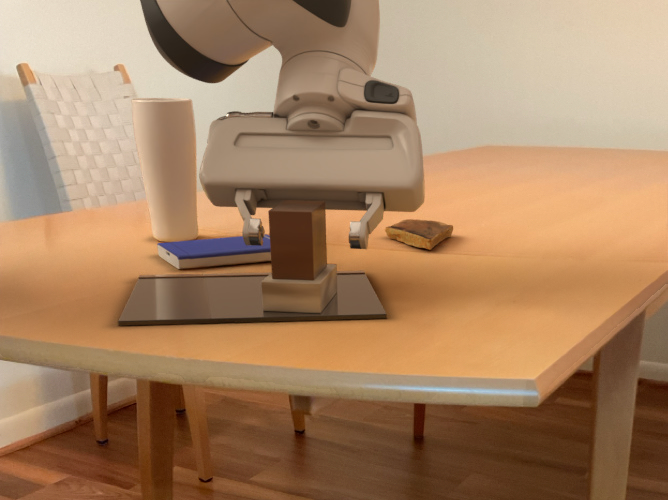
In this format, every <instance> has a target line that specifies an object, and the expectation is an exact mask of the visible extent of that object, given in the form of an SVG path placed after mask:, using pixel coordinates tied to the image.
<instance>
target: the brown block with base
mask: <svg viewBox="0 0 668 500" xmlns="http://www.w3.org/2000/svg"><path fill="white" fill-rule="evenodd" d="M326 212H327V210H325V202H324V201H291V200H285V201H283V202H282V203H280V204H279V205H277V206H275V207H274V208H270V209H269V210H268V228H269V229H268V230H269V236H270V249H271V261H270V263H271V264H270V265H271V272H272V273H271V274H269V275H268V276H267V277H266V278H265V279H264V280H263V281H261V287H262V304H263V311H271V312H296V313H321V312H322V311H323V310H324V308H325V307H326V306H327V304H328V303H329V302H330V301H331V299H332V298H333V297H334V295H335V294H336V293H337V271H338V265H337V264H335V263H328V252H327V251H328V249H327V216H326V215H327V214H326Z"/></svg>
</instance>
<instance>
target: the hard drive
mask: <svg viewBox="0 0 668 500" xmlns="http://www.w3.org/2000/svg"><path fill="white" fill-rule="evenodd" d="M156 247H157V255H158V257H159V258H161V259H162V260H164V261H165V262H167V263H168V264H169V265H171V266H173V267H174V268H175V269H177V270H184V269H200V268H210V267H220V266H232V265H241V264H253V263H264V262H271V249H270V234H267V233H264V238H263V245H262V246H256V245H246V244H245V242H244V240H243V235H240V236H239V235H237V236H227V237H215V238H203V239H201V238H200V239H194V240H189V241H177V242H158V243H157V245H156Z"/></svg>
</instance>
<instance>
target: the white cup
mask: <svg viewBox="0 0 668 500" xmlns="http://www.w3.org/2000/svg"><path fill="white" fill-rule="evenodd" d="M130 103H131V117H132V127H133V135H134V141H135V146H136V152H137V158H138V161H139V166H140V173H141V176H142V182H143V187H144V193H145V197H146V202H147V208H148V214H149V219H150V227H151V228H150V229H151V235H152V238H154V239H155V240H156V241H157V242H161V243H166V242H177V241H189V240H197V238H198V237H199V223H198V183H197V181H198V180H197V177H198V173H197V171H198V170H197V168H198V167H197V161H198V160H197V130H196V120H195V111H194V106H193V105H194V104H193V100H192V98H185V97H184V98H183V97H135V98H132V99H131V100H130Z"/></svg>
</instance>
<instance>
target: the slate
mask: <svg viewBox="0 0 668 500" xmlns="http://www.w3.org/2000/svg"><path fill="white" fill-rule="evenodd" d="M271 273H272V271H271V272H269V271H268V272H236V273H235V272H227V273H225V272H224V273H220V272H219V273H178V274H177V273H176V274H175V273H173V274H139V275H138V278H137V281H136V283H135V285H134V287H133V288H132V291H131V293H130V295H129V297H128V299H127V301H126V303H125V306H124V308H123V310H122V312H121V313H120V316H119V318H118V319H117V324H118V325H117V326H119V327H123V326H127V327H129V326H159V325H161V326H163V325H165V326H166V325H197V324H230V323H231V324H232V323H233V324H234V323H235V324H236V323H269V322H271V323H272V322H303V321H305V322H306V321H342V320H376V319H377V320H378V319H380V320H382V319H387V318H388V316H387V312H386V310H385V308H384V306H383V305H382V303H381V301H380V299H379V296H378V295H377V293H376V290H375V289H374V287H373V285H372V283H371V282H370V280H369V278H368V276H367V274H366V272H365V270H337V293H336V294H335V295H334V297H333V298H332V299H331V301H330V302H329V303H328V304H327V306H326V307H325V308H324V310H323V311H322V312H321V313H296V312H271V311H263V304H262V287H261V281H263V280H264V279H265V278H266V277H267V276H268V275H269V274H271Z"/></svg>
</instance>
